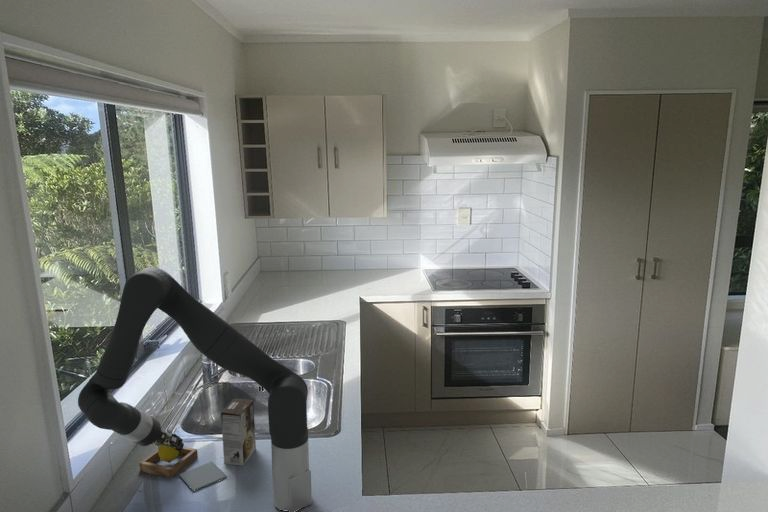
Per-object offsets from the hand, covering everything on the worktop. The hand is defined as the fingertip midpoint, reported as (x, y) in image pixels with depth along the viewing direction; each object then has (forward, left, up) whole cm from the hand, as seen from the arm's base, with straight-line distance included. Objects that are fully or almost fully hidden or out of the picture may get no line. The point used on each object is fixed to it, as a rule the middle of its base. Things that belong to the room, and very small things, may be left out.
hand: (172, 445), depth 155 cm
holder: (-1, +2, -5) cm, 5 cm away
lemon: (-1, +2, -5) cm, 5 cm away
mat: (-13, -3, -5) cm, 14 cm away
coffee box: (-11, -15, -5) cm, 20 cm away
